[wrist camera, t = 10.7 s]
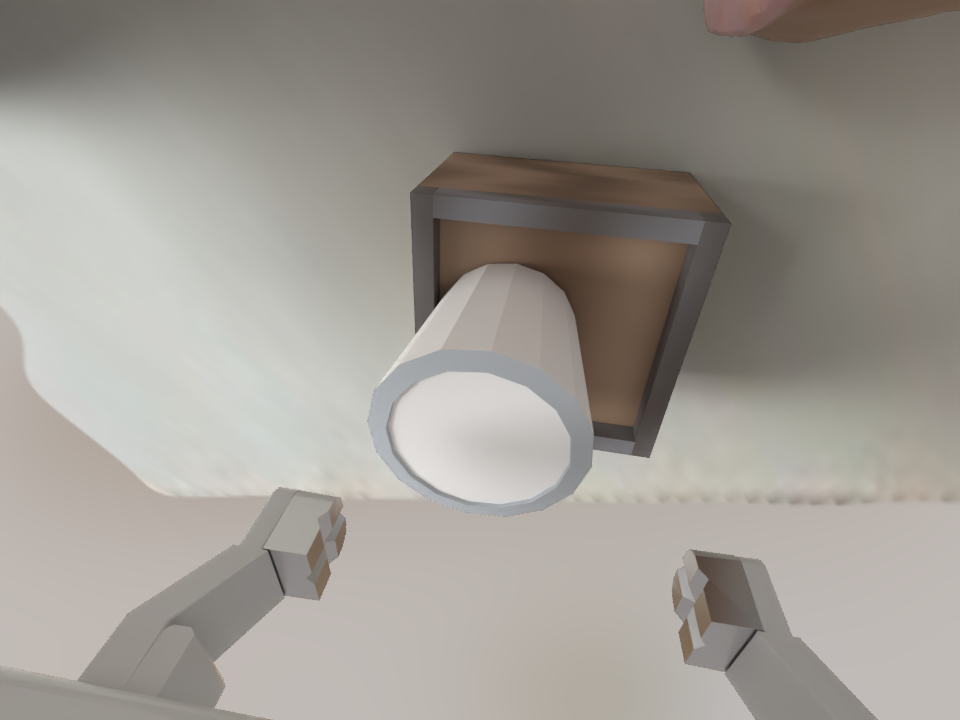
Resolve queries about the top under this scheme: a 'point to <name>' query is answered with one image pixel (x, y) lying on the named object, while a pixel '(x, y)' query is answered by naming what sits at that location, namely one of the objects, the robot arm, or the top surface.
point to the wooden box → (583, 266)
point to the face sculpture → (812, 16)
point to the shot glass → (489, 398)
